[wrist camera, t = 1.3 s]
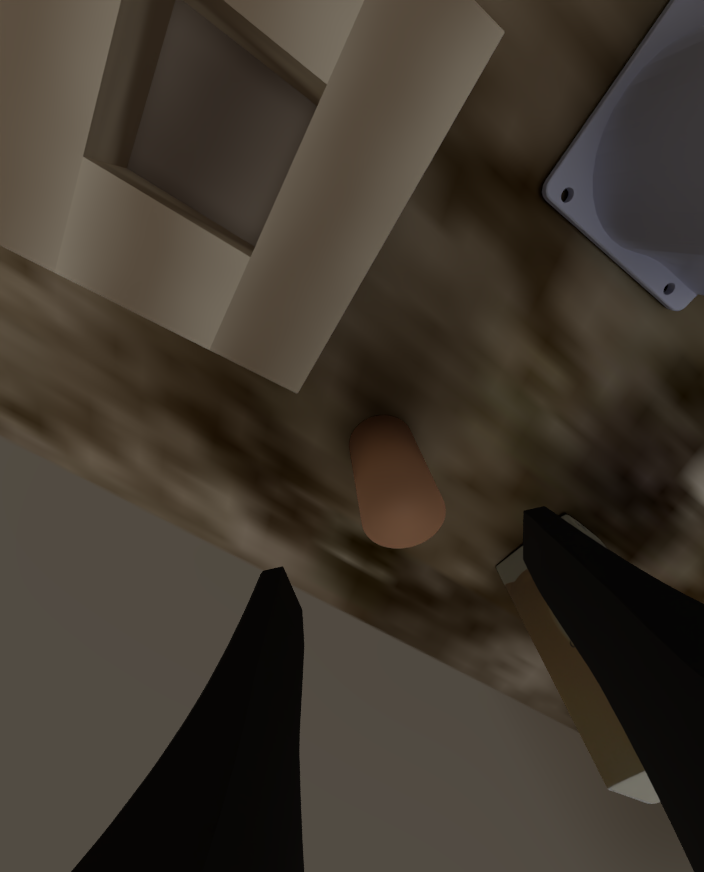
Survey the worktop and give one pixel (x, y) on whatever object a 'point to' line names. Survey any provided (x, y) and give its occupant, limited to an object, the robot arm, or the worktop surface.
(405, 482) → the peg
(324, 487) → the worktop surface
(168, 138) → the socket block
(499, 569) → the skincare box
